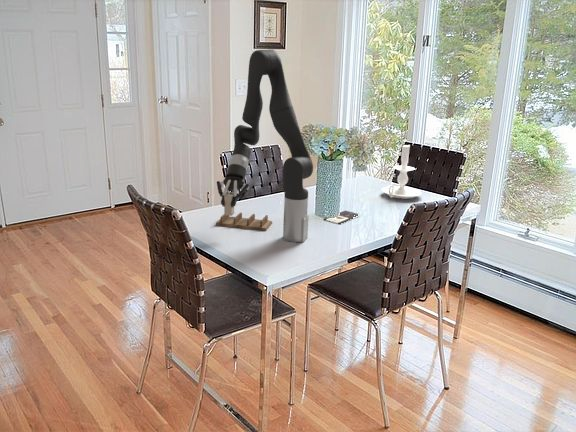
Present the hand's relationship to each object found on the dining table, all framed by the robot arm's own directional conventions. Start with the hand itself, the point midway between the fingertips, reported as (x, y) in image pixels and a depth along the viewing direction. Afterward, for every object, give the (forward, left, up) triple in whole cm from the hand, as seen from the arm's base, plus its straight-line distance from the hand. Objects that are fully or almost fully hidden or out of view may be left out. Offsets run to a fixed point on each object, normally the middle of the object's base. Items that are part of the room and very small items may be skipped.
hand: (227, 205), depth 202 cm
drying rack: (+1, -20, -14) cm, 24 cm away
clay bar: (0, -2, -4) cm, 5 cm away
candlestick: (-56, -94, -14) cm, 110 cm away
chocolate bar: (-36, -47, -15) cm, 61 cm away
